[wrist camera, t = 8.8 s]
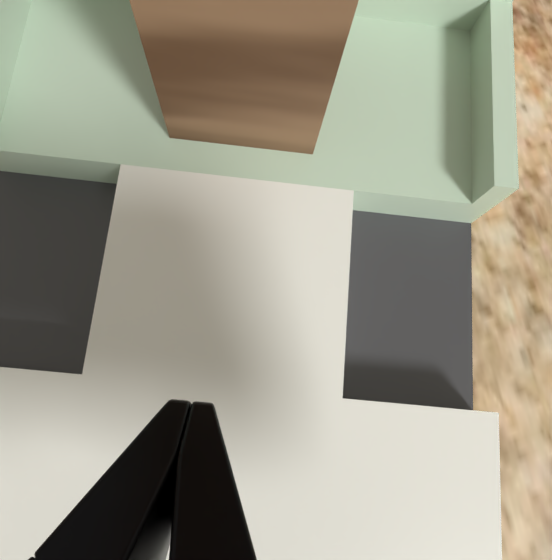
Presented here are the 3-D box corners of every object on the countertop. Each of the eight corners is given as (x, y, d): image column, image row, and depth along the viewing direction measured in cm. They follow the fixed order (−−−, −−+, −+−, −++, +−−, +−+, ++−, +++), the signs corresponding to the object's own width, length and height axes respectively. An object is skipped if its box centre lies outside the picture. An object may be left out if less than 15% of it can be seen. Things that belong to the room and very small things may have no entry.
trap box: (470, 634, 15) (580, 752, 10) (-106, 594, 14) (-287, 702, 9) (465, 51, 20) (537, -56, 15) (43, -3, 19) (-24, -135, 14)
